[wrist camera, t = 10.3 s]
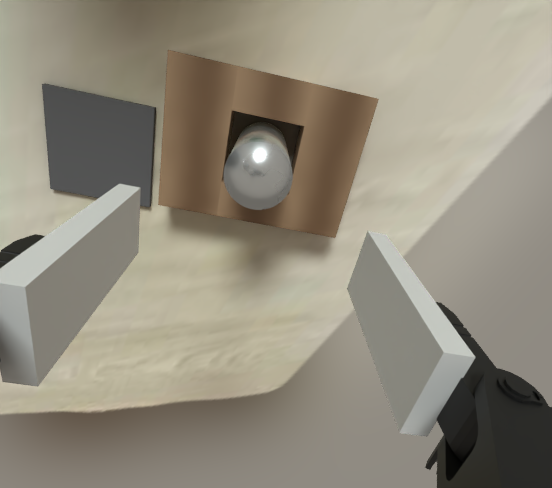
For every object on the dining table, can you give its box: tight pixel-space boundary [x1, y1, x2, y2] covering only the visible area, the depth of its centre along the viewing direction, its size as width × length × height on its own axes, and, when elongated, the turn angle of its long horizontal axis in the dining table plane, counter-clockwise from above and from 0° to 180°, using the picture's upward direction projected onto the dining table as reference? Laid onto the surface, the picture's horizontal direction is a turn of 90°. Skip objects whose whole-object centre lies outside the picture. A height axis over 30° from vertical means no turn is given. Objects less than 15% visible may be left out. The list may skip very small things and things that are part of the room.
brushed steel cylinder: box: [223, 122, 293, 210], centre depth 26 cm, size 4×4×10 cm
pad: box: [42, 84, 156, 207], centre depth 30 cm, size 9×9×1 cm
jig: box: [158, 50, 378, 238], centre depth 29 cm, size 16×12×3 cm
